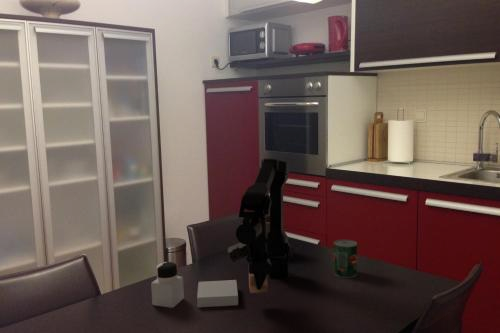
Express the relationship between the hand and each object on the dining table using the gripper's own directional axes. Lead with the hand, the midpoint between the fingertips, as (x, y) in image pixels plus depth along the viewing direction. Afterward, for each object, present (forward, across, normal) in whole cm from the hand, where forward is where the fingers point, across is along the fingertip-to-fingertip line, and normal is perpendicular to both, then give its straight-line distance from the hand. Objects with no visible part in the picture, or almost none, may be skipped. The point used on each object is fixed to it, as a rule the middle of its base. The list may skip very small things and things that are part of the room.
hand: (258, 285), depth 134 cm
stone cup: (+6, -48, +9) cm, 49 cm away
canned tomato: (+6, -21, +32) cm, 39 cm away
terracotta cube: (+1, 0, 0) cm, 1 cm away
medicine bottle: (+6, -6, -27) cm, 28 cm away
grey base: (+6, -7, -12) cm, 15 cm away
